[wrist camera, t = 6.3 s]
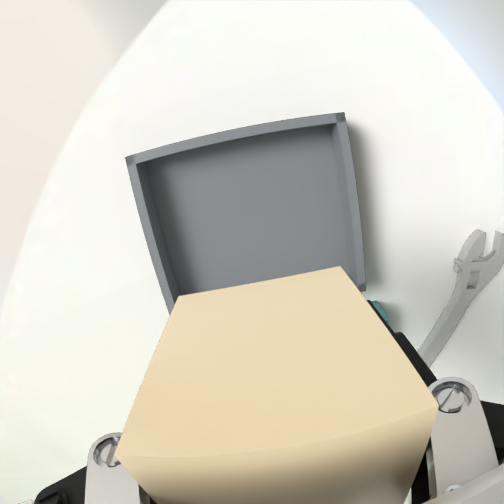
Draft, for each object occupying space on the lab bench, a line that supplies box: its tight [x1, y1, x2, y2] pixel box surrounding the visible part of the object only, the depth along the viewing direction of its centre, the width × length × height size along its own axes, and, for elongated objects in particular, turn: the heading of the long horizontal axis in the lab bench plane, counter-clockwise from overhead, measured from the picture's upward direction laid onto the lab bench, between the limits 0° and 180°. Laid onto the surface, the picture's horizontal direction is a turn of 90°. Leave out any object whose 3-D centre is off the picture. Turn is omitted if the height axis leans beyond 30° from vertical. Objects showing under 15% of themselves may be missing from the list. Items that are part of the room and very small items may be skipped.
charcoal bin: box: [125, 112, 366, 315], centre depth 24 cm, size 16×14×3 cm
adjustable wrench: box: [417, 229, 504, 367], centre depth 29 cm, size 25×6×2 cm, turn 153°
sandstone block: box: [114, 266, 439, 504], centre depth 7 cm, size 5×5×6 cm
